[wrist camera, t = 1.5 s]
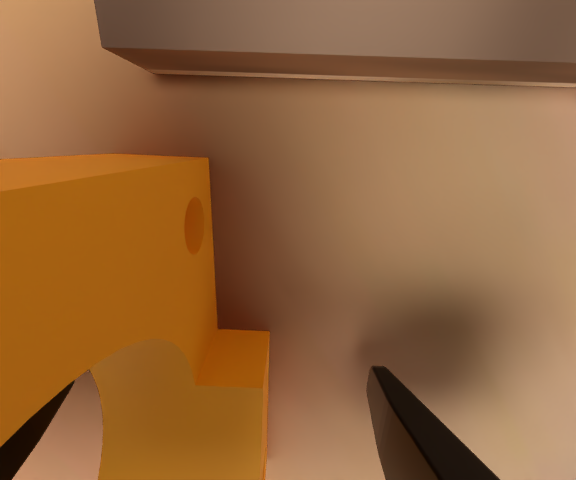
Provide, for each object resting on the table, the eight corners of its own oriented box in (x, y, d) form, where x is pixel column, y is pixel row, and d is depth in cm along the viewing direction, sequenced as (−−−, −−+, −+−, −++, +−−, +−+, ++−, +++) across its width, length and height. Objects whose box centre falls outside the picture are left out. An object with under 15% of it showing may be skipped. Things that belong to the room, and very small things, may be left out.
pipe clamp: (266, 455, 11) (238, 809, 5) (164, 451, 11) (18, 800, 5) (274, 160, 7) (191, 233, 1) (116, 152, 7) (-678, 193, 1)
